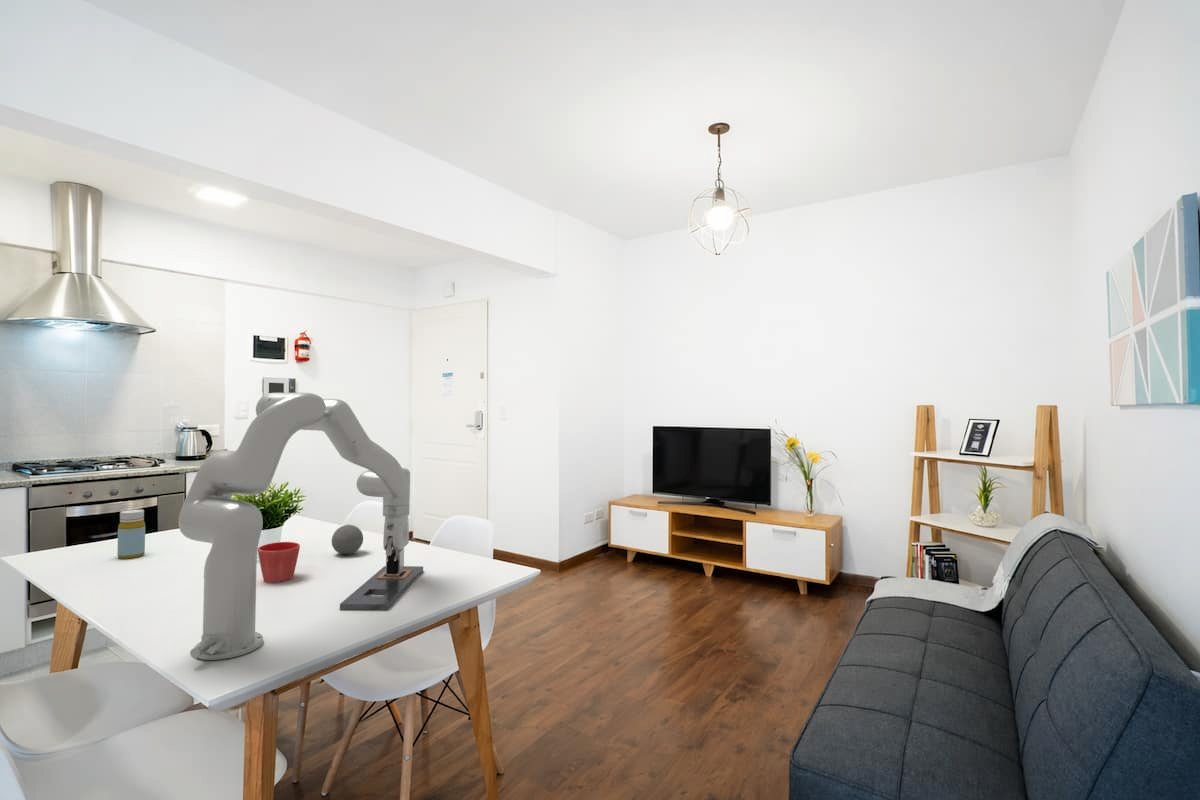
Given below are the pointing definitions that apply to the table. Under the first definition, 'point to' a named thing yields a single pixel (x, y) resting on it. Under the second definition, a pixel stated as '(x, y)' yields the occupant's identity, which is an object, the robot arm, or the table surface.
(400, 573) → the steel rectangular block
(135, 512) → the bottle
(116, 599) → the table surface
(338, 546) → the decorative ball
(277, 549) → the flower pot
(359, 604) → the grey board with holes
